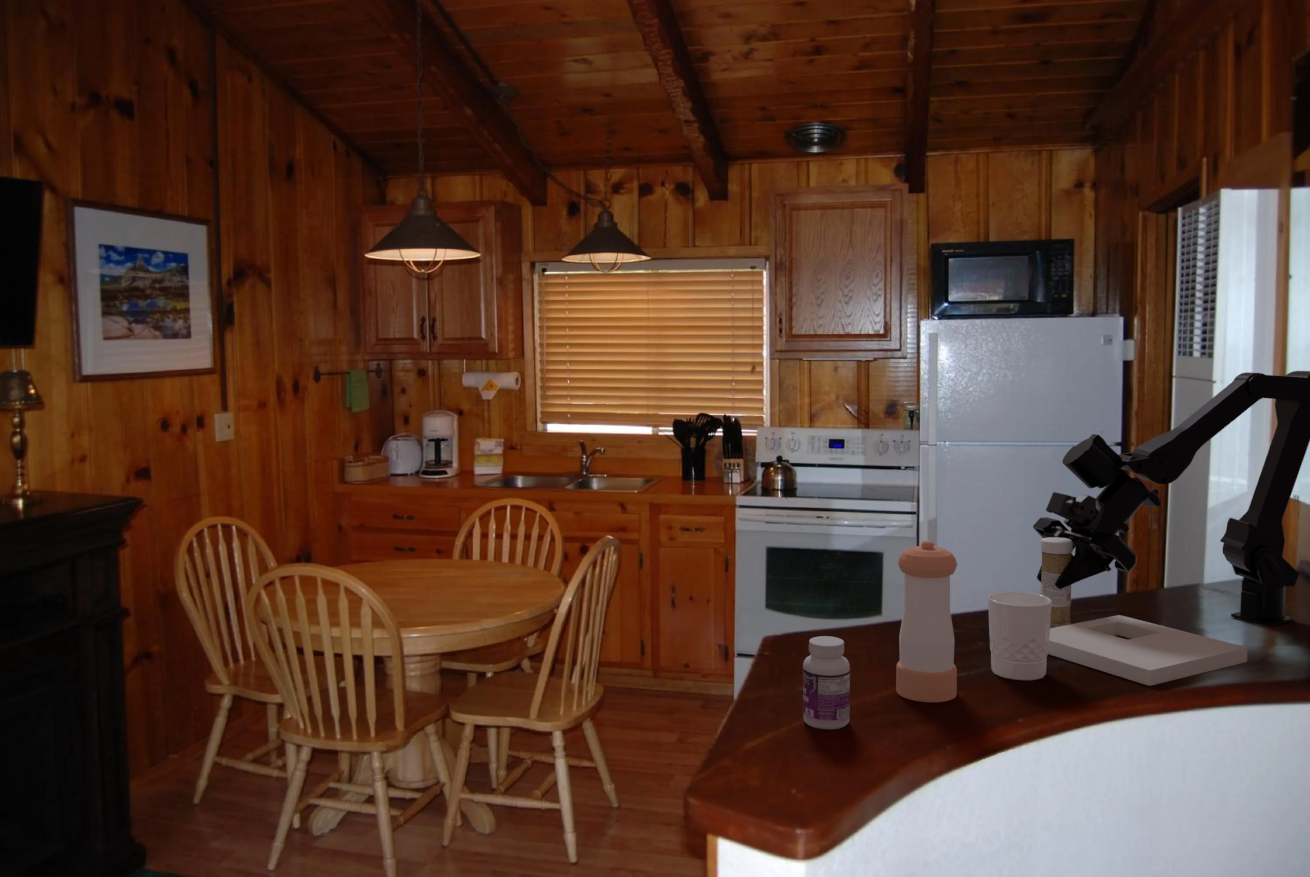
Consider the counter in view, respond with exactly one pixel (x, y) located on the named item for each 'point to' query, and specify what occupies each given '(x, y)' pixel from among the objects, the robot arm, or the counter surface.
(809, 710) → the pill bottle
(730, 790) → the counter surface
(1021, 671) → the white cup
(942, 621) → the pepper shaker
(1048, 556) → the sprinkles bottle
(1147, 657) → the block
